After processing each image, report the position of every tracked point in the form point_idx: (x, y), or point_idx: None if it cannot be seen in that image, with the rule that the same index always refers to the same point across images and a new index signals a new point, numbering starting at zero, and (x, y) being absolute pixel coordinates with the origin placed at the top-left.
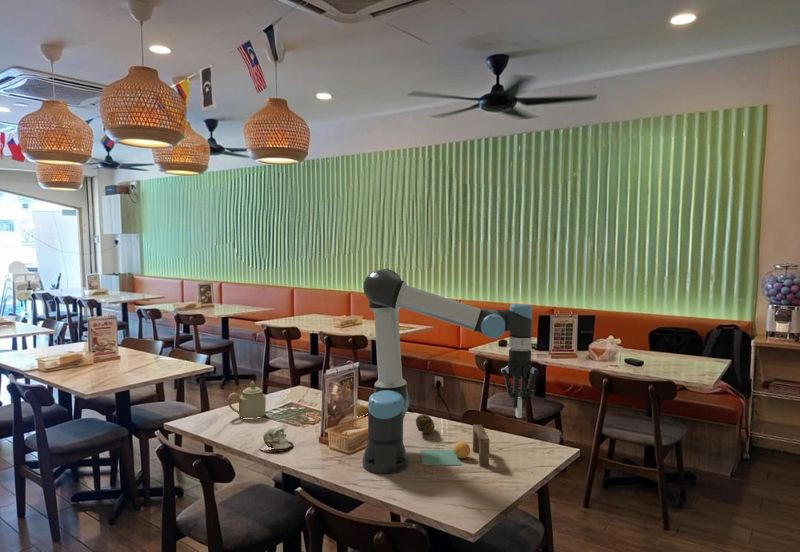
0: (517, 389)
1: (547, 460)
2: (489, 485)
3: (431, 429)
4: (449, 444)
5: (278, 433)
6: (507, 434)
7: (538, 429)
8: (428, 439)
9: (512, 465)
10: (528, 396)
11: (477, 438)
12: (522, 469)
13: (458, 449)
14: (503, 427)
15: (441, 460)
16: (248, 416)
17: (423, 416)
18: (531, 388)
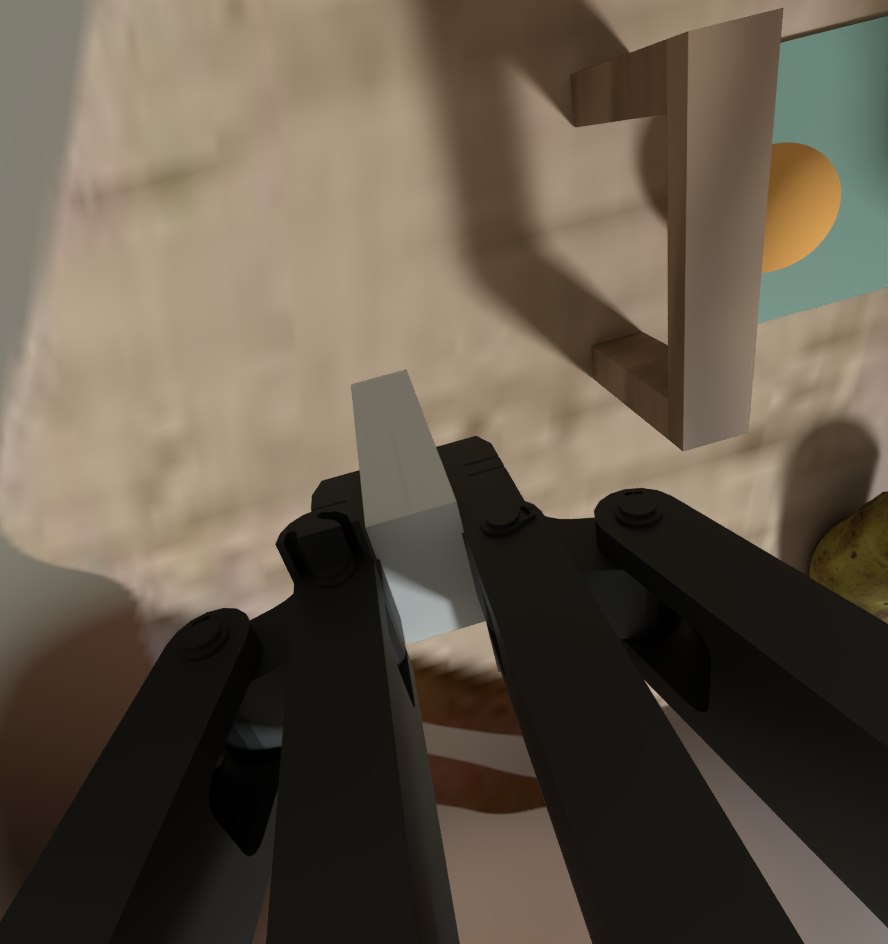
0: (537, 672)
1: (147, 310)
2: None
3: (862, 515)
4: (760, 414)
5: None
6: (430, 640)
7: None
8: (853, 453)
9: (397, 137)
10: (221, 615)
11: (666, 366)
12: (317, 60)
13: (820, 152)
14: (450, 713)
15: (878, 106)
16: None
17: None
18: (77, 849)
